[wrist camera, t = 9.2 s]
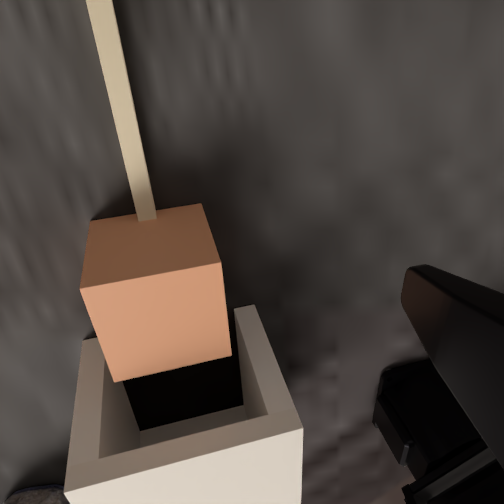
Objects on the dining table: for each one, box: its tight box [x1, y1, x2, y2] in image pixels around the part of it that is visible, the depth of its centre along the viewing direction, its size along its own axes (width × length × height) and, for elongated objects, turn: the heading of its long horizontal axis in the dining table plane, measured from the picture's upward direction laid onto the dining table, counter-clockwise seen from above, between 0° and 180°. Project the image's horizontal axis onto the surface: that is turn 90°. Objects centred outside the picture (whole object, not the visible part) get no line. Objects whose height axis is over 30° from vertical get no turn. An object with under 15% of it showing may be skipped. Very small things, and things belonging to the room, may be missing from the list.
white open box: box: [64, 305, 303, 504], centre depth 22 cm, size 9×10×8 cm
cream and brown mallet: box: [80, 0, 232, 383], centre depth 14 cm, size 5×18×6 cm, turn 3°
